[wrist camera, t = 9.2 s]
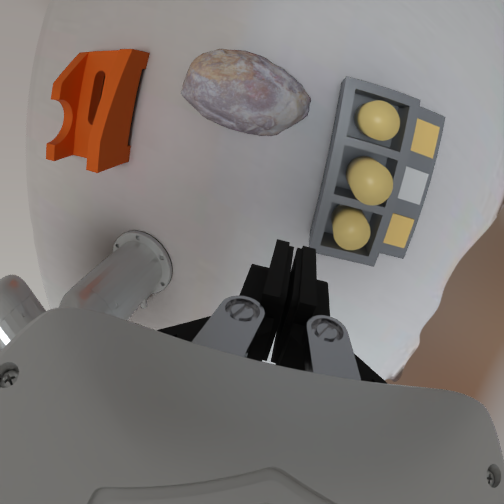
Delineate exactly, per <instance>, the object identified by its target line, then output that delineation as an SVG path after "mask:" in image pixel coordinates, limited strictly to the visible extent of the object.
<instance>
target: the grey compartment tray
mask: <svg viewBox="0 0 504 504" xmlns="http://www.w3.org/2000/svg"><path fill="white" fill-rule="evenodd" d="M376 100H380V101H385V102H387V103H389V104H391V105H392V106H393V107H394V108H395V109H396V111H397V113H398V115H399V118H400V127H399V130H398V132H397V134H396V135H395V136H394V137H393V138H391V139H389V140H385V141H380V140H376V139H373V138H370V137H368V136H365V135H363V134H362V133H361V132H360V131H359V130H358V129H357V127H356V125H355V121H354V115H355V112H356V110H357V108H358V107H359V106H360V105H362V104H364V103H368V102H371V101H376ZM419 106H420V100H419V99H416V98H414V97H411V96H408V95H406V94H403V93H400V92H397V91H394V90H392V89H389V88H386V87H382V86H379V85H376V84H373V83H369V82H366V81H363V80H359V79H355V78H352V77H348V76H346V78H345V79H344V80H343V81H342V83H341V89H340V95H339V101H338V106H337V112H336V117H335V122H334V128H333V133H332V138H331V143H330V148H329V153H328V157H327V162H326V167H325V171H324V176H323V180H322V185H321V189H320V194H319V198H318V202H317V206H316V211H315V215H314V219H313V223H312V227H311V231H310V238H309V247H310V248H314V249H316V253H318V254H322V255H326V256H331V257H335V258H339V259H344V260H348V261H352V262H356V263H361V264H365V265H369V266H373V267H374V265H375V263H376V260H377V257H378V255H379V252H380V249H381V246H382V244H383V241H384V238H385V235H386V232H387V229H388V226H389V223H390V220H391V217H392V214H393V211H394V208H395V205H396V201H397V198H398V195H399V191H400V188H401V184H402V181H403V177H404V174H405V170H406V166H407V162H408V158H409V154H410V150H411V145H412V141H413V136H414V132H415V127H416V122H417V117H418V112H419ZM359 156H368V157H371V158H373V159H375V160H376V161H377V162H379V163H380V164H381V165H383V166H384V167H385V168H387V169H388V171H389V172H390V174H391V176H392V179H393V189H392V193H391V195H390V196H389V198H388V199H387V200H386V201H384V202H383V203H381V204H379V205H373V206H372V205H366V204H363V203H362V202H360V201H359V200H358V199H357V198H356V197H355V196H354V194H353V192H352V190H351V188H350V186H349V184H348V182H347V179H346V169H347V167H348V165H349V163H350V162H351V161H352V160H353V159H355V158H356V157H359ZM340 204H342V205H346V206H350V207H353V208H357V209H361V210H362V211H363V213H364V215H365V218H366V220H367V222H368V224H369V226H370V238H369V240H368V242H367V243H366V244H365V245H364V246H363V247H361V248H359V249H357V250H346V249H343V248H341V247H340V246H339V245H338V244H337V243H336V241H335V239H334V235H333V228H332V221H331V216H332V213H333V211H334V209H335V208H336V207H337V206H338V205H340Z"/></svg>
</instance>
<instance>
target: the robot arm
mask: <svg viewBox="0 0 504 504" xmlns="http://www.w3.org/2000/svg"><path fill="white" fill-rule="evenodd" d="M289 243H290V242H286V241H282V240H278V239H277V242H276V246H275V250H274V253H273V257H272V261H271V264H270V268H267V267H263V266H259V265H255V264H252V265H251V267H250V270H249V273H248V275H247V278H246V280H245V283H244V285H243V288H242V290H241V293H240V295H239V296H231V297H229V298H226V299H225V300H224V301H223V302H222V303H221V304H220V305H219V307H218V308H217V309H216V311H215V312H214V313H213V315H212V316H209V317H206V318H202V319H198V320H195V321H191V322H187V323H183V324H179V325H176V326H172V327H168V328H164V329H160V330H157V331H156V330H153V329H150V328H148V327H145V326H142V325H139V324H136V323H133V322H130V321H127V320H128V319H129V318H130V316H131V315H132V314H133V313H134V311H135V310H137V309H138V306H139V305H140V306H141V308H147V300H146V299H147V298H148V297H149V296H150V294H151V293H158V292H160V291H162V290H163V289H164V288H165V287H166V286H167V285H168V284H169V282H170V280H171V276H172V266H171V261H170V259H169V256H168V254H167V253H166V251H165V249H164V248H163V247H162V245H161V244H160V243H159V242H158V241H157V240H156V239H154V238H153V237H152V236H150V235H148V234H146V233H144V232H140V231H128V232H126V233H124V234H122V235H121V236H120V237H119V238H118V239H117V240H116V241H115V243H114V247H113V253H112V254H111V255H110V256H108V257H107V258H106V259H105V260H104V261H102V262H101V263H100V264H99V265H98V266H96V267H95V268H94V269H93V270H92V271H91V272H89V273H88V274H87V275H86V276H85V277H84V278H82V279H81V280H80V281H79V282H78V283H77V284H76V285H75V286H73V287H72V288H71V289H70V290H69V291H68V292H67V293H66V294H65V295H64V297H63V299H62V301H61V303H60V306H59V308H55V309H51V310H48V311H46V310H45V309H44V308H43V306H42V305H41V303H40V302H39V301H38V299H37V298H36V296H35V295H34V294H33V292H32V291H31V290H30V288H29V287H28V285H27V284H26V283H25V282H24V281H23V280H22V279H21V278H20V277H19V276H16V275H8V276H5V277H3V278H2V279H0V504H504V460H503V456H502V451H501V447H500V443H499V439H498V436H497V433H496V429H495V426H494V424H493V421H492V419H491V417H490V414H489V412H488V411H487V409H486V408H485V406H484V405H483V404H481V403H480V402H478V401H477V400H475V399H474V398H471V397H469V396H467V395H465V394H461V393H458V392H454V391H449V390H443V389H434V388H424V387H413V386H403V385H393V384H387V383H386V382H385V381H384V380H383V379H382V378H381V377H380V376H379V375H378V374H376V373H375V372H374V371H373V370H372V369H371V368H370V367H369V366H368V365H366V364H365V363H364V362H363V361H362V360H361V359H360V358H359V357H357V356H356V355H355V354H354V352H353V349H352V345H351V342H350V338H349V335H348V332H347V330H346V328H345V326H344V325H343V324H342V323H341V322H340V321H338V320H337V319H335V318H332V317H330V309H329V293H328V283H327V282H324V281H320V280H317V278H316V249H314V248H310V247H306V246H303V248H302V249H300V248H297V251H296V255H295V258H294V262H293V265H292V269H291V264H292V257H293V249H294V247H292V246H289ZM290 271H291V272H290ZM275 334H276V337H275ZM274 337H275V342H274V348H273V353H272V358H271V362H273V363H276V365H274V364H270V363H265V362H262V360H265V361H267V358H268V355H269V352H270V349H271V346H272V343H273V340H274Z"/></svg>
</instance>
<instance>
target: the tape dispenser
mask: <svg viewBox="0 0 504 504" xmlns="http://www.w3.org/2000/svg"><path fill="white" fill-rule="evenodd" d="M149 54H150V53H147V52H143V51H139V50H134V49H120V50H117V51H95V52H83V53H79V54H78V55H77V56H76V57H75V58H74V59H73V61H72V62H71V63H70V64H69V65H68V66H67V67H66V69H65V70H64V71H63V72H62V73H61V74H60V76H59V77H58V78H57V79H56V81H55V82H54V83H53V88H52V95H51V99H54V100H57V101H59V102H60V103H61V105H62V107H63V110H64V121H63V125H62V128H61V130H60V132H59V134H58V135H57V136H56V138H55V139H54V140H52V141H51V142H49V143H47V147H46V159H48V160H52V161H56V160H59V159H62V158H65V157H68V156H71V155H76V156H80V157H84V158H87V167H86V170H89V171H92V172H96V173H99V172H101V171H104V170H107V169H109V168H112V167H115V166H117V165H120V164H123V163H126V162H129V155H130V148H131V146H130V145H128V139H129V132H130V126H131V120H132V115H133V109H134V104H135V99H136V94H137V89H138V85H139V80H140V76H141V72H142V69H146V66H147V62H148V58H149ZM104 76H105V80H104ZM103 80H104V85H103ZM102 85H103V91H102V96H101V90H102ZM100 96H101V99H100ZM99 101H100V102H99Z"/></svg>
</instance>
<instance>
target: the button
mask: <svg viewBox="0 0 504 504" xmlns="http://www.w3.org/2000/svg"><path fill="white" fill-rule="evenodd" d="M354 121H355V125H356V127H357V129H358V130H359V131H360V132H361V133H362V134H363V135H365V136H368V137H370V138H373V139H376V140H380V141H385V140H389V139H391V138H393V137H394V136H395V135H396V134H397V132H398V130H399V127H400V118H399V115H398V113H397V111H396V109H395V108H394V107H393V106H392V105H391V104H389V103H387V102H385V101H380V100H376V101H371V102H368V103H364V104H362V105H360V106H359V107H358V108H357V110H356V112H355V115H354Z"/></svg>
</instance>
